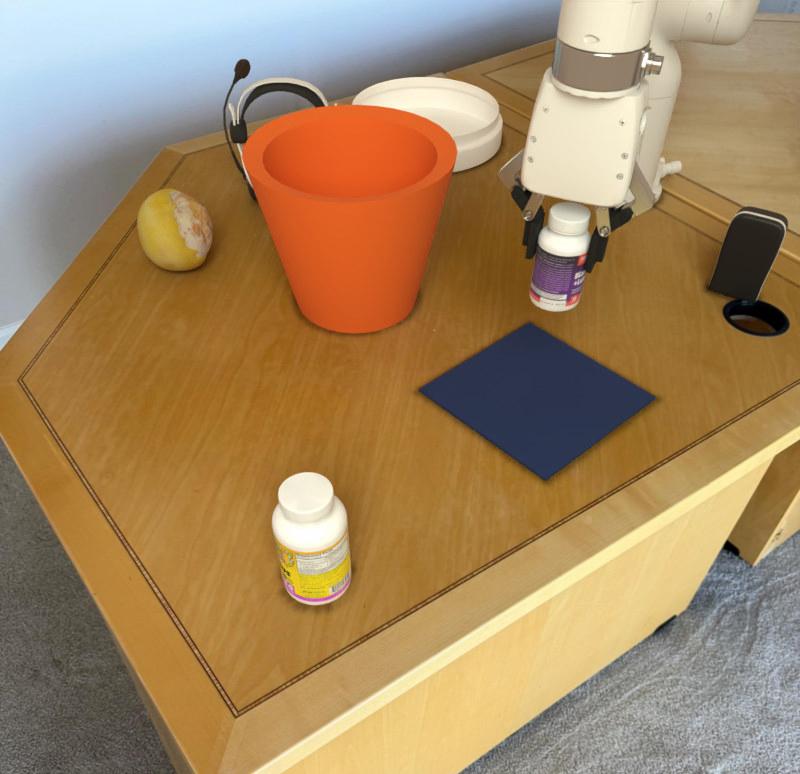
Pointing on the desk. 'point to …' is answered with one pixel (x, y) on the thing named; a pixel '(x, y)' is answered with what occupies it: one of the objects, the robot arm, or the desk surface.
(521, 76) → the desk surface
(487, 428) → the mat
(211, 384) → the desk surface
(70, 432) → the desk surface
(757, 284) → the battery charger
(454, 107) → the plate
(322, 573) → the supplement bottle
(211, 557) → the desk surface
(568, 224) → the pill bottle
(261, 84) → the headset
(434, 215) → the flowerpot
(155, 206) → the fruit
